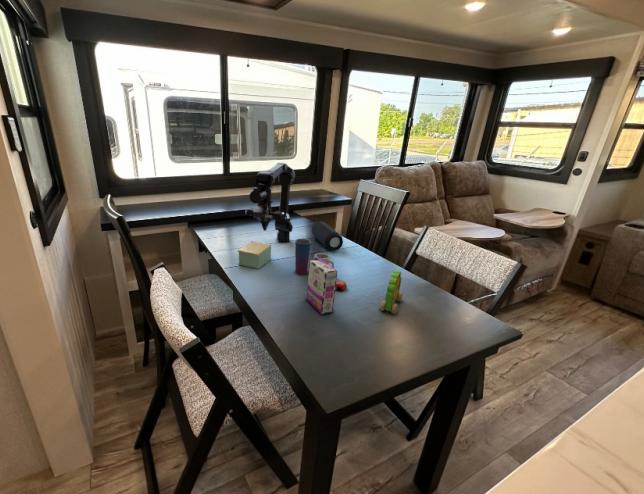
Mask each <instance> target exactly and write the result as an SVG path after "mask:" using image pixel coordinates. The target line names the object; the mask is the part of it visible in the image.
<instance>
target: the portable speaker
mask: <svg viewBox="0 0 644 494" xmlns="http://www.w3.org/2000/svg"><path fill="white" fill-rule="evenodd" d="M311 234H312V235H313V237H314V238H315V239H317V240H318V241H319V242H320V243H321V244H322V245H323V246H324V247H325V249H328V250H329V251H338V250H340V249H342V247H343V244H344V238H343V236H342V235H341V234H340V233H339V232H338V231H336V230H335V229H334V228H332V227H331V226H330V225H329V224H327V223H326V222H325V221H316V222H315V223H313V224H312V226H311Z"/></svg>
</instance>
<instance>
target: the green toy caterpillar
mask: <svg viewBox="0 0 644 494" xmlns="http://www.w3.org/2000/svg"><path fill="white" fill-rule="evenodd" d="M402 278H403V277H402V272H401V271H400V270H396V269H393V271H392V273H391V276H390V278H389V281H388V285H387V287H386V288H387V289H386V294H385V300H382V301H381V304H380V307H379V308H380V311H382V312H384V311H387V312H391V314H393V315H396V313H397V310H398V304H397V303H395V302H396V300H397V302H401V301H402V299H403V295H404V293H403V292H402V291H400V289H401V284H402Z"/></svg>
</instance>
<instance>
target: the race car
mask: <svg viewBox="0 0 644 494" xmlns="http://www.w3.org/2000/svg"><path fill="white" fill-rule="evenodd" d="M346 289H348V285H347V283H346V281H344V280H341V279H338V278H337V279H336V287H335V290H337V291H338V292H341V291H345V290H346Z"/></svg>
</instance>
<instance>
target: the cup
mask: <svg viewBox="0 0 644 494" xmlns="http://www.w3.org/2000/svg"><path fill="white" fill-rule="evenodd" d="M311 244H312V241H311V239H308V238H297V239H295V241H294V250H295V252H294V253H295V254H294V256H295V257H294V261H295V266H294V267H295V274H296V275H300V276H304V275H307V273H308V268H309V261H310V260H309V259H310V252H311Z"/></svg>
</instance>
